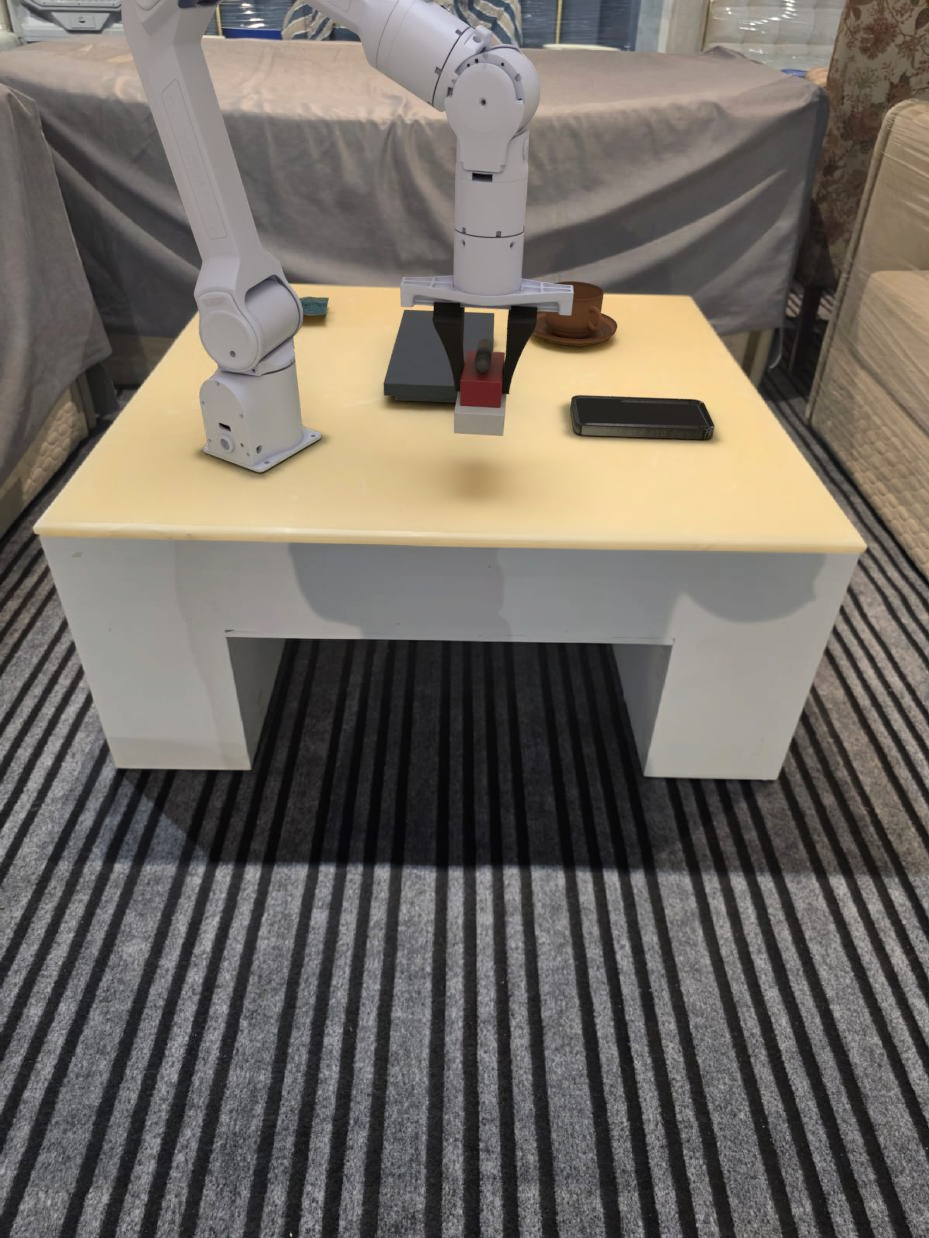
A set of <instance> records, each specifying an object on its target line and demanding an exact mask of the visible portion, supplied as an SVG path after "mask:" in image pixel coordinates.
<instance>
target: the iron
mask: <svg viewBox="0 0 929 1238" xmlns="http://www.w3.org/2000/svg"><path fill="white" fill-rule="evenodd" d="M492 350H493V352H492ZM505 356H506V352H504V351H494V343H493V344H492V341H491V340H490V339H488V338H483V339H481V340H480V341H479V342H478V346H477V351H468V350H467V351H466V356H465V361H464V366H463V371H462V376H461V386H460V392H458V396H457V401H456V403H455V407H454V410H453V411H454V412H453V434H460V435H477V436H492V437H493V436H495V437H503V436H504V431H505V419H506V408H507V397H508V394H502V380H503V370H504V362H505Z"/></svg>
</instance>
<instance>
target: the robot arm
mask: <svg viewBox="0 0 929 1238" xmlns="http://www.w3.org/2000/svg"><path fill="white" fill-rule="evenodd" d="M299 1H300V2H302V3H304V4H305V5H307V6H309V7H311V8H312V9H314V10H315V11H317V12H319V13H320V14H322V15H324V16H325V17H327V18H329V19H330V20H332V21H334V22H335V23H337V24H338V25H340V26H342V27H344V28H345V29H347V30H348V31H350V32H352V33H354V34H355V35H357V36H358V38H359V39H360V43H361V46H362V49H363V52H364V56H365V59H366V60H367V63H368V65H369V66H370V67H371V68H373V69H375V70H376V71H377V72H379V73H380V74H382V75H384V76H385V77H387V78H388V79H389V80H391V81H393V82H394V83H396V84H397V85H399V86H400V87H401V88H403V89H405V90H406V91H408V92H409V93H411V94H412V95H414V96H415V97H416V98H418V99H419V100H421V101H423V103H425V104H427V105H429V106H430V107H432V108H434V109H435V110H436V111H438V112H440V113H443V112H445V115H446V120H447V121H448V124H449V126H450V128H451V130H452V131H453V133H454V135H455V136H456V150H455V151H456V154H455V155H456V156H455V159H456V160H455V165H454V217H453V219H454V222H453V223H454V225H453V271H452V272H453V274H452V275H437V276H417V277H416V276H403V277H402V279H401V281H400V284H399V292H400V293H399V295H400V296H399V297H400V307H401V308H414V306H427V307H428V306H429V307H433V310H432V311H433V317H432V321H433V324H434V327H435V330H436V331H437V333H438V335H439V337H440V339H441V342H442V344H443V346H444V348H445V351H446V354H447V356H448V359H449V363H450V366H451V370H452V374H453V379H454V387H455V391H458V392H460V386H461V376H462V371H463V366H464V351H463V338H464V315H465V312H466V308H467V309H469V308H470V309H487V310H506V311H507V323H506V341H505V343H506V344H505V362H504V370H503V380H502V394H507V395H509V394H510V390H511V385H512V380H513V376H514V373H515V371H516V368H517V366H518V363H519V360H520V358H521V356H522V354H523V352H524V349H525V348H526V345H528V342H529V340H530V339H531V337H532V335H533V334H534V333H533V332H534V329H535V327H536V324H537V311H545V312H558V314H559V315H571V313H572V303H573V294H574V292H573V285H561V284H554V283H553V282H546V281H540V280H533V279H529V278H528V279H527V278H523V276H522V274H523V259H524V246H525V245H524V243H525V229H526V217H527V216H526V213H527V200H528V199H527V198H528V183H529V170H530V169H529V161H528V160H529V150H530V129H529V128H526V127H527V126H528V125H529V124H530V123H531V121H532V120H533V118H534V116H535V115H536V113H537V110H538V108H539V104H540V100H541V82H540V78H539V77H540V76H539V73H538V71H537V70H536V67H535V66H534V63H532V61H531V60H530V59H529V58H528V57H527V56H526V55H525V54H524V53H523V51H522V50H521V49H520V48H519V47H518V45H514V44H509V43H501V44H497V45H493V46H491V41H490V40H491V38H492V35H493V34H492V31H491V30H489V29H488V28H487V27H485V26H484V25H482V24H480V25H477V26H476V27H475V28H473V27H472V26H471V25H469V24H468V23H466V22H465V21H463V20H462V19H460V18H459V17H458V16H456V15H455V14H453V13H452V12H450V11H448V10H446V9H445V8H443V7H442V6H441V5H440V4H438V3H437V2H436V1H435V0H299ZM222 2H224V0H120V7H121V9H120V10H121V25H122V28H123V32H124V36H125V38H126V41H127V44H128V47H129V51H130V53H131V57H132V59H133V62H134V66H135V68H136V71H137V74H138V76H139V80H140V82H141V86H142V88H143V89H142V90H143V92H144V94H145V98H146V100H147V103H148V106H149V109H150V113H151V115H152V117H153V120H154V124H155V126H156V129H157V132H158V135H159V138H160V141H161V144H162V147H163V150H164V153H165V156H166V158H167V162H168V164H169V168H170V171H171V173H172V176H173V179H174V182H175V185H176V188H177V191H178V193H179V196H180V199H181V202H182V206H183V208H184V211H185V215H186V217H187V220H188V223H189V226H190V229H191V232H192V234H193V238H194V241H195V244H196V247H197V249H198V253H199V255H200V258H201V262H202V263H201V267H200V271H199V274H198V277H197V280H196V282H195V283H196V284H195V288H194V291H193V297H194V300H195V302H196V305H197V309H198V310H197V311H198V318H199V319H198V335H199V340H200V343H201V345H202V347H203V349H204V351H205V352H206V354H207V355H208V356H209V358H210V359H211V360H212V361H214V363H216V365H217V368H216V370H215V371H214V373H213V374H212V375H211V376H210V377H208V378H207V379H206V380H204V381H203V383H202V384H201V386H200V388H199V396H198V399H199V405H200V410H201V415H202V421H203V427H204V432H205V436H206V442H207V444H206V445H204V446H203V448H202V450H203V452H204V453H205V454H208V455H211V456H214V457H217V458H219V459H222V460H224V461H226V462H230V463H233V464H235V465H237V466H240V467H243V468H245V469H248V470H251V471H253V472H256V473H264V472H266V471H268V470H269V469H271V468H272V467H274V466H276V465H278V464H280V463H281V462H283V461H285V460H286V459H288V458H290V457H292V456H293V455H295V454H297V453H298V452H300V451H301V450H304V449H305V448H307V447H308V446H310V445H312V444H314V443H315V442H317V441H318V440H320V439H322V433H321V432H319V431H316V430H313V429H310V428H307V427H304V426H303V418H302V409H301V400H300V399H301V398H300V391H299V382H298V381H299V380H298V372H297V364H296V353H295V338H294V337H295V336H296V335H298V333H299V332H300V330H301V328H302V325H303V322H304V316H303V308H302V305H301V302H300V299H299V298H300V296H299V295H298V294H297V292H296V291H295V290H294V288H293V287H292V286H291V284H290V283H289V282H288V280H287V278H286V275H285V273H284V270H283V266H282V264H281V262H280V260H279V259H278V258H277V257H276V256H274V255H273V254H272V253H270V252H269V251H268V250H266V249H265V248H264V247H263V246H262V243H261V241H260V236H259V233H258V230H257V227H256V224H255V220H254V217H253V214H252V209H251V207H250V202H249V200H248V197H247V193H246V190H245V187H244V184H243V180H242V177H241V174H240V171H239V167H238V165H237V164H238V163H237V160H236V156H235V154H234V150H233V147H232V144H231V140H230V137H229V134H228V130H227V127H226V123H225V121H224V120H225V119H224V117H223V114H222V111H221V107H220V104H219V101H218V97H217V93H216V90H215V87H214V84H213V80H212V77H211V74H210V70H209V67H208V63H207V61H206V56H205V54H204V50H203V46H202V40H203V37H204V35H205V32H206V31H207V28H208V26H209V24H210V22H211V21H212V18H213V16H214V14H215V12H216V10H217V8H218V6H220V4H221V3H222ZM525 128H526V129H525ZM523 129H524V130H523Z"/></svg>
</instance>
